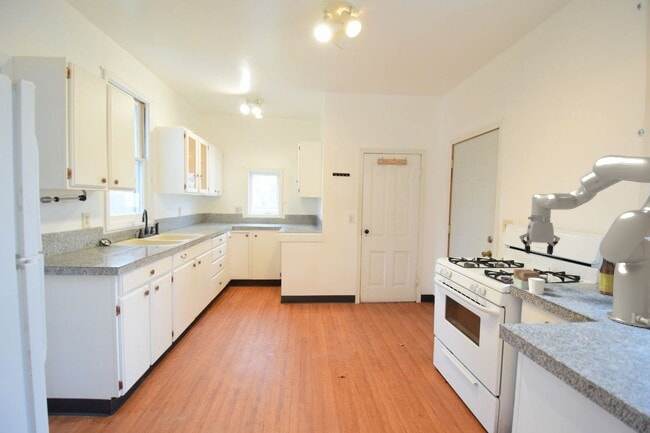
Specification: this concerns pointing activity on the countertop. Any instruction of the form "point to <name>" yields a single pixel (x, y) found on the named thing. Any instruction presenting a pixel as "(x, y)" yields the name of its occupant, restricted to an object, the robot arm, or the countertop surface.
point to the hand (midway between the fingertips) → (538, 253)
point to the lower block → (521, 284)
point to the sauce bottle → (606, 277)
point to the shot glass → (536, 285)
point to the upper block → (525, 274)
